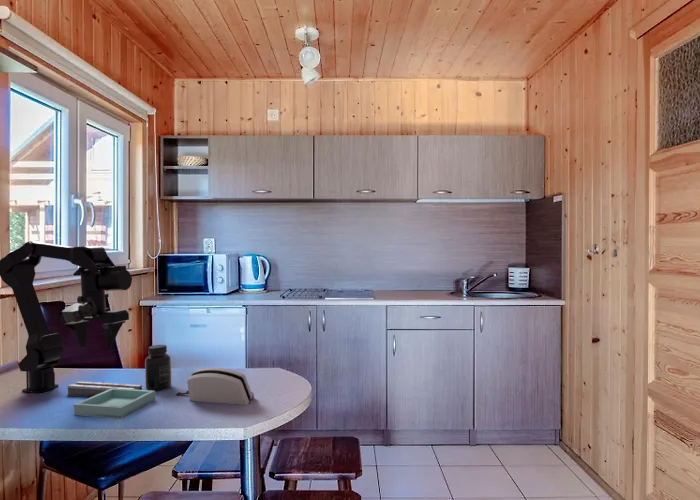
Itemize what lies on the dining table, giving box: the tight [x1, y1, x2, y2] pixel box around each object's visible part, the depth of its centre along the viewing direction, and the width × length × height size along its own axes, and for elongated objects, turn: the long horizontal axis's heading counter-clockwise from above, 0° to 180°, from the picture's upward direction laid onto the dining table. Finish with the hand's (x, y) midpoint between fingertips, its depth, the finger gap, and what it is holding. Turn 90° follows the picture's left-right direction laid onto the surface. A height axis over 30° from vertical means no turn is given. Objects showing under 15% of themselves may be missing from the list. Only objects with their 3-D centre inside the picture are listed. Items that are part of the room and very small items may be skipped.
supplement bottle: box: [144, 344, 172, 392], centre depth 132 cm, size 7×7×12 cm
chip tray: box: [73, 389, 156, 419], centre depth 117 cm, size 13×13×2 cm
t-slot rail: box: [67, 381, 143, 398], centre depth 127 cm, size 20×4×3 cm, turn 78°
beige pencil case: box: [186, 367, 255, 406], centre depth 121 cm, size 17×5×10 cm, turn 76°
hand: (96, 347), depth 129 cm, fingers open, 9 cm apart
